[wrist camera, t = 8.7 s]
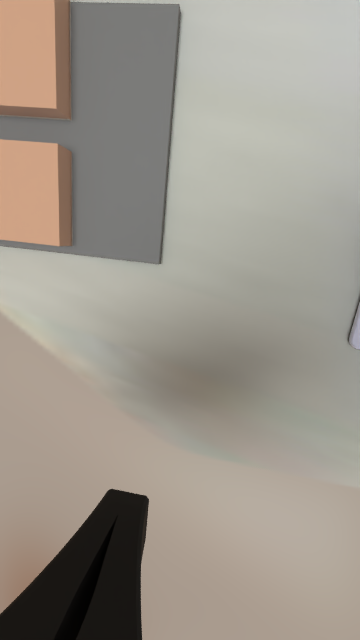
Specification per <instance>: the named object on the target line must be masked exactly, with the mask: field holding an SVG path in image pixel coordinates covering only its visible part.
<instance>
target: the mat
mask: <svg viewBox="0 0 360 640" xmlns="http://www.w3.org/2000/svg"><path fill="white" fill-rule="evenodd" d="M180 14H181V12H180V6H179V4H140V3H87V2H71V121H70V120H54V119H39V118H23V117H8V116H0V139H3V140H16V141H30V142H43V143H57V144H59V145H61V146H63V147H64V148H66V149H68V150H69V151H71V152H72V226H73V246H53V245H44V244H35V243H27V242H18V241H9V240H0V246H6V247H15V248H23V249H32V250H41V251H49V252H58V253H67V254H75V255H84V256H93V257H101V258H110V259H118V260H127V261H136V262H144V263H153V264H161V253H162V240H163V227H164V215H165V202H166V190H167V177H168V165H169V152H170V140H171V127H172V114H173V102H174V89H175V77H176V64H177V52H178V39H179V26H180Z"/></svg>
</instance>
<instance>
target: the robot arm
mask: <svg viewBox="0 0 360 640" xmlns="http://www.w3.org/2000/svg"><path fill="white" fill-rule="evenodd" d="M349 343H350V345H352V346H353V347H354V348H355V349H359V350H360V302H359V306H358V309H357V313H356V316H355V320H354V323H353V327H352V330H351V334H350V337H349ZM148 504H149V499H148V498H147V496H144V495H139V494H134V493H129V492H124V491H119V490H114V489H110V490H108V491H107V493H106V494H105V496H104V497H103V498H102V500H101V501H100V503H99V504H98V505H97V507H96V508H95V509H94V511H93V512H92V513H91V515H90V516H89V517H88V518H87V520H86V521H85V522H84V523H83V525H82V526H81V527H80V528H79V530H78V531H77V532H76V533H75V534H74V536H73V537H72V538H71V539H70V540H69V542H68V543H67V544H66V545H65V546H64V548H63V549H62V550H61V551H60V552H59V553H58V554H57V555H56V557H55V558H54V559H53V560H52V561H51V562H50V563H49V564H48V565H47V566H46V567H45V569H44V570H43V571H42V572H41V573H40V574H39V575H38V576H37V577H36V578H35V580H34V581H33V582H32V583H31V584H30V585H29V586H28V587H27V588H26V589H25V590H24V591H23V592H22V593H21V594H20V595H19V596H18V597H17V598H16V599H15V600H14V601H13V602H12V603H11V604H10V605H9V606H8V607H7V608H6V609H5V610H4V611H3V612H2V613H1V614H0V640H142V628H141V591H140V590H141V589H140V588H141V578H140V577H141V560H142V554H143V549H144V544H145V538H146V526H147V516H148Z"/></svg>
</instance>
